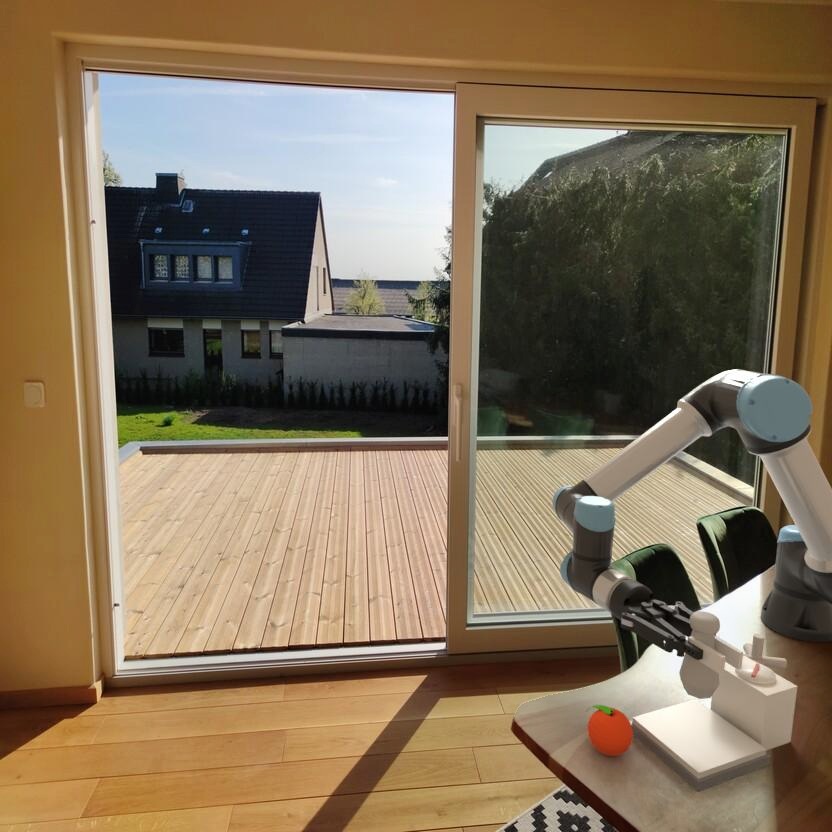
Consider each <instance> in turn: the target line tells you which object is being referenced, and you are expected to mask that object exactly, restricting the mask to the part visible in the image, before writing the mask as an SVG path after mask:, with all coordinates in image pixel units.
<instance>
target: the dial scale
mask: <svg viewBox="0 0 832 832" xmlns="http://www.w3.org/2000/svg"><path fill="white" fill-rule="evenodd" d="M718 674H719V673H718ZM797 691H798V685H796V684H795V683H793V682H791V681H789V680H787V679H785V678H784V677H783V676H781V675H779V674H777V673H775V671H773V670H772V669H771V667H766V666H764V665H762V664H759V663H757V662H755V661H753V660H751V659H750V658H748V657H746V656H743V660H742V669H736V668H734V667H733V666H731V665H730V664H728V663H726V662H725V668H724V674H719V686H718V687H717V689H716V690H715V692H714V693H713V695H712V696H711V698H710V699H711V701H710V708H709V707H708V706H706V705H705V704H704V703H703V702H701V701H700V700H698V699H697V698H693V699H691V700H687V701H682V702H680V703H676V704H672V705H670V706H666V707H663V708H660V709H657V710H656V709H655V710H652V711H650V712H647V713H643V714H640V715H636V716H632V720H629V722H630V724H631V726H632V730H633V737H634V738H636V739H637V740H638V741H639V742H641V744H642V745H644V746H645V747H646V748H647V749H648V750H650V752H652V753H653V754H654V755H655V756H656V757H658V758H659V760H661V761H662V762H664V763H665V764H666V765H667V766H668V767H669V768H670V769H671V770H673V771H674V772H675V773H676V774H677V775H678V776H679V777H681V778H682V779H683V780H684V781H685V782H686V783H688V784H689V785H690V786H691V787H692V788H693V789H695V790H696V791H697V792H700V791H704V790H706V789H707V788H711V787H713V786H716V785H719V784H721V783H724V782H728V781H729V780H731V779H734V778H737V777H740V776H744V775H745V774H748V773H750V772H753V771H756V770H759V769H762V768H764V767H765V768H766V767H767V766H770V763H771V757H772V756H771V755H770V754H769V753H767V751H769V750H772V749H775V748H778V747H780V746H784V745H786V744H789V743H791V740H792V733H793V725H794V716H795V709H796V699H797Z"/></svg>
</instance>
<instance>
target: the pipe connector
mask: <svg viewBox="0 0 832 832" xmlns="http://www.w3.org/2000/svg"><path fill="white" fill-rule="evenodd" d="M764 643H765V636H764V635H763V634H761V633H753V636H752V643H750V642H746V643H744V644H743V647H742V648H743V652H745V653H743V656H746V657H748V658H750V659H751V660H753V661H755V662H757V663H759V664H762V665H764V666H766V667H768V668H775V669H783V670H787V668H788V661H787V659H786V658H784V657H783V658H782V657H776V656H774V657H773V656H766V655H763V654H764Z"/></svg>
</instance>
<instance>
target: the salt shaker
mask: <svg viewBox="0 0 832 832" xmlns="http://www.w3.org/2000/svg"><path fill="white" fill-rule="evenodd" d="M693 612H694V611H693ZM690 626H691V628H692V629H693V630H692V633H691V636H692V637H694V639H696V640H699V641H700V642H702V643H704V644H705V645H707V646H709V647H710V648H712V649H714V650H715V651H716V647H715V635H714V634H716V635H717V634H718V632H719V631H720V629H721V622H720V619H719V618H718V617H717V616H716V615H715V614H714V613H711V612H707V611H695V612H694V613H693V614H692V615H691V616H690ZM679 678H680V681H681V683H682V686H683V689H684V690H685V692H686V693H687V695H689V696H692V697H694V698H695V699H699V700H703V699H712V695H713V693H714V692H715V690H716V689H717V687H718V686H719V674H718V673H717V672H715V671H714V670H712V669H711V668H709V667H708V666H706V665H705V664H703V663H701V662H700V661H698V660H696V659H694V658H692V657H691V656H690V655H688V654H686V653H684V657H683V660H682V663H681V666H680V669H679Z"/></svg>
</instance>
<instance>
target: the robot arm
mask: <svg viewBox="0 0 832 832" xmlns="http://www.w3.org/2000/svg"><path fill="white" fill-rule="evenodd" d="M676 405H677V406H676V408H675V409H674V410H672V411H671V412H670V413H669V414H668V415H666V416H665V417H663V418H662V419H661V420H659V421H658V422H656V423H655V424H654V425H653V426H652V427H650V428H649V429H647V430H646V431H644V433H643V434H641V435H640V436H638V437H637V438H636V439H635V440H633V441H632V442H631V443H629V444H628V445H626V446H625V447H623V448H622V449H621V450H620V451H619V452H617V453H616V454H615V455H613V456H612V457H611V458H610V459H608V460H607V461H606V462H604V463H603V464H602V465H600V466H599V467H598V468H597V469H595V470H594V471H592V472H591V473H590V474H588V475H587V476H585V478H583V479H582V480H580V481H579V482H578V483H577V484H575V485H565V486H564V485H563V486H562V487H560V488H559V489H557V490H556V491H555V493H554V495H553V496H552V508H553V511H554V512H555V514H556V516H557V517H558V520H560V521H562V522H563V524H564V525H565V526H566V527H567V529H568V530H569V531H570V532H571V533H572V549H571V550H572V551H570V552H568V553H566V555H565V556H564V557H563V560H562V563H560V566H559V567H560V568H559V573H560V576H561V578H562V580H563V582H564V583H565V584H566V585H568V586H569V587H570V588H571V589H572V590H573V591H574V592H576V593H577V594H581V595H582V596H584V597H586V598H587V599H589V600H590V601H592V602H593V603H594V604H596V605H597V606H599V607H601V608H603V609H604V610H605V611H607V612H608V613H609V614H611V615H613V616H614V617H615V618H617V620H618V619H619V621H621V622H620V623H621V624H620V627H621V629H623V630H626V631H628V632H629V631H630V632H631V633H634V634H636V635H637V636H639V637H641V638H643V640H646V641H648V642H649V643H651V644H653V645H654V646H656V647H658V648H660V649H661V650H663V651H665V652H667V653H669V654H670V653H673V652H674V651H676V656H678V657H680V658H684V656H685V653H686V654H688V655H690V656H691V657H692V658H694V659H696V660H698V661H700V662H701V663H703V664H705V665H706V666H708V667H709V668H711V669H712V670H714V671H715V672H717V673H719V674H724V668H725V662H726V663H728V664H730V665H731V666H733V667H734V668H736V669H742V660H743V654H744V651H743V650H741V649H739V648H738V647H735V646H733V645H732V644H730V643H728V642H727V641H726V640H724V639H722V638H720V637H718V636H717V634H714V635H715V647H716V651H715V650H714V649H712V648H710V647H709V646H707V645H705V644H704V643H702V642H700V641H699V640H696V639H694V637H692V636H691V633H692V630H693V629H692V628H691V626H690V616H691V615H692V614H693V613H694V611H692V610H691V609H689V608H688V607H687V606H686V605H685V603H684V602H682V601H675V605H668V604H667V603H666V602H665V601H661V600H658V599H656V597H655V595H654V593H653V592H652V590H651V589H650V588H649V587H648V586H646V585H644V584H643V583H641V582H639V581H637V580H635V579H634V578H632V577H630V576H628V575H627V574H626V573H625V574H624V573H623V572H621V571H619V570H617V569H615V568H614V567H613V566H612V559H613V558H612V557H613V548H614V547H613V546H614V534H615V533H614V532H615V526H616V520H617V519H616V507H615V504H614V502H616V500H618V499H619V498H621V497H622V496H623V495H624V494H626V493H627V492H628V491H630V490H631V489H632V488H635V486H636V485H638V484H640V482H642V481H643V480H644V479H646V478H648V477H649V476H650V475H651V474H653V473H654V472H655V471H657V470H658V469H659V468H660V467H662V466H663V465H665V464H666V463H667V462H668V461H669V462H670V460H671V459H673V458H674V457H676V455H678V454H680V453H681V452H682V451H684V450H685V449H686V448H687V447H689V446H691V444H693V443H694V442H696V441H697V440H698V439H699V438H701V437H711V436H712V435H713V434H715V433H717V432H718V431H719V430H721V429H723V428H727V427H730V428H732V429H735V430H736V431H737V433H738V435H739V437H740V439H741V441H742V443H743V446H745V448H746V450H747V452H748V453H749V454H751V455H755V456H758V457H760V459H761V461H762V462H763V463H762V464H763V465H764V466H765V469H766V471H767V472H768V474H769V476H770V478H771V480H772V482H773V484H774V487H775V488H776V490H777V492H778V493H779V495H780V497H781V499H782V501H783V503H784V505H785V507H786V509H787V511H788V513H789V515H790V517H791V519H792V521H793V522H794V524H789V525H785V526H783V527H782V528H780V530H779V534H778V537H777V541H776V543H777V545H776V546H777V547H776V557H775V565H774V573H773V574H774V575H773V585H772V587H771V590H770V592H769V593H768V595H767V597H766V599H765V601H764V603H763V604H762V607H761V609H760V610H761V611H760V620H761V622H762V623H763V624H764V625H765V626H766V627H767V628H769V629H771V630H772V631H774V632H777V633H779V634H781V635H782V636H783V635H784V636H786V637H788V638H792V639H796V640H800V641H806V642H812V643H826V642H827V643H828V642H832V486H831V485H830V483H829V481H828V479H827V477H826V475H825V473H824V471H823V469H822V467H821V465H820V462H819V461H818V459H817V456H816V455H815V453H814V451H813V448H812V446H811V445H810V443H809V440H808V438H809V436H810V434H811V432H812V426H811V424H810V423H811V417H810V416H811V415H813V403H812V401H811V398H810V396H809V393H807V391H806V389H804V387H803V386H801V384H800V383H798V382H796V381H794V380H792V379H790V378H787V377H785V376H782V375H780V374H775V373H761V372H756V371H750V370H745V369H740V368H736V369H731V370H725V371H722V372H720V373H718V374H716V375H713V376H712V377H710V378H708V379H707V380H705V381H703V382H702V383H700V384H699V385H698V386H696V387H695V388H693V389H692V390H691V391H689V392H688V393H687V394H685V395H684V396H682V397H681V398H680V399H679V400H678V401H677V404H676Z"/></svg>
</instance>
